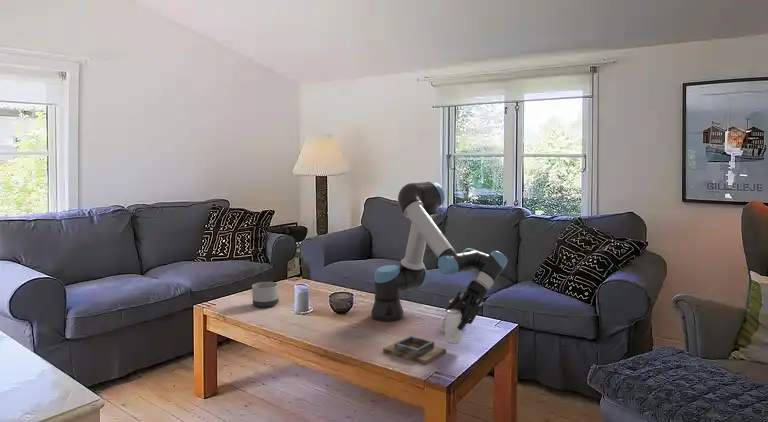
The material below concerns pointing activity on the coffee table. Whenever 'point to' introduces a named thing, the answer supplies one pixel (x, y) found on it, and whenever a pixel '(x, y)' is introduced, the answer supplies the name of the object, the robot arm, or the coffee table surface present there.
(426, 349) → the wooden board with frame
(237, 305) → the coffee table surface
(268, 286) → the planter
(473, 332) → the coffee table surface
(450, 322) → the can
